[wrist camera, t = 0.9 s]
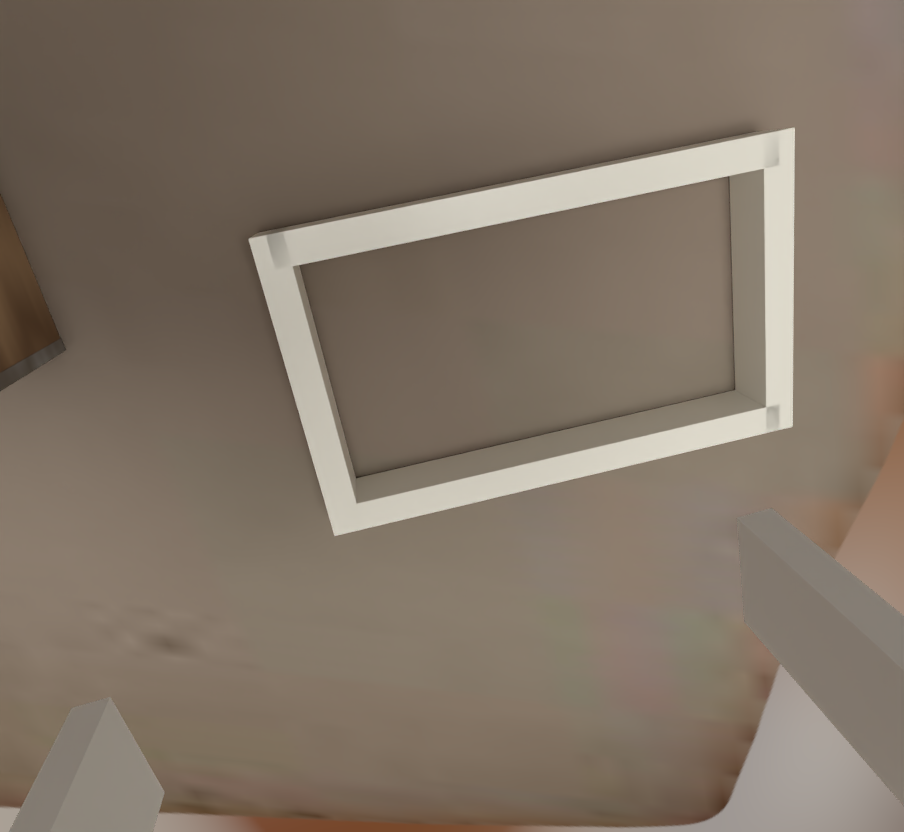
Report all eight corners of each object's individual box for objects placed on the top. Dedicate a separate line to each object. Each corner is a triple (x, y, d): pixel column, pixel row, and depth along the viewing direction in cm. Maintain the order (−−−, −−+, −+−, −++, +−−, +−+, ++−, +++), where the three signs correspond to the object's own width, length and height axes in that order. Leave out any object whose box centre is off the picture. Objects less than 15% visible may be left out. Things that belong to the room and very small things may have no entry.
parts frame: (257, 232, 31) (248, 238, 28) (756, 131, 33) (794, 127, 30) (335, 508, 36) (334, 535, 34) (760, 408, 38) (792, 426, 35)
